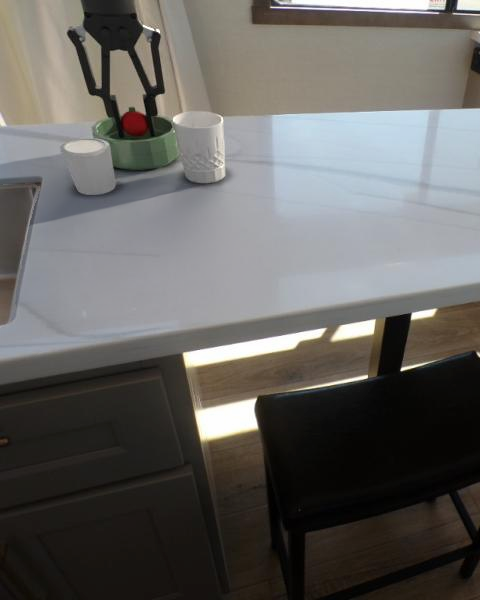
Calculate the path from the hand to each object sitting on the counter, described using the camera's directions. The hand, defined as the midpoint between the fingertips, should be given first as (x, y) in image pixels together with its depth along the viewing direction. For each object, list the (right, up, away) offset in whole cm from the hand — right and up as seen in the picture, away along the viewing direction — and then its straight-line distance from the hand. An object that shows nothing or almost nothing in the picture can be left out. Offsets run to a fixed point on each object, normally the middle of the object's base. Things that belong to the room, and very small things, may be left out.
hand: (137, 134), depth 93 cm
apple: (0, 0, 0) cm, 0 cm away
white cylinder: (-3, -11, -8) cm, 14 cm away
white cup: (+12, -8, -1) cm, 15 cm away
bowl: (0, -3, +3) cm, 4 cm away
